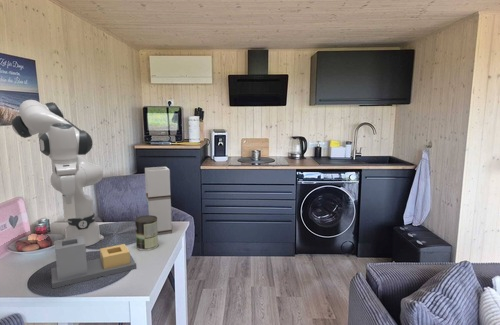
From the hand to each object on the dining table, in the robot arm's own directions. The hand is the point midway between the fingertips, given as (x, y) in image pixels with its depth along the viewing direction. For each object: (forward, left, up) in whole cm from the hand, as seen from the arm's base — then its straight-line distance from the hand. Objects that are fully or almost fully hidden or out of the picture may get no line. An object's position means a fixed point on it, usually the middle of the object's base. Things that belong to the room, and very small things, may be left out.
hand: (68, 202), depth 124 cm
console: (0, +7, -30) cm, 31 cm away
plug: (0, 0, -6) cm, 6 cm away
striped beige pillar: (-31, +43, -30) cm, 61 cm away
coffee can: (-14, +32, -30) cm, 46 cm away
